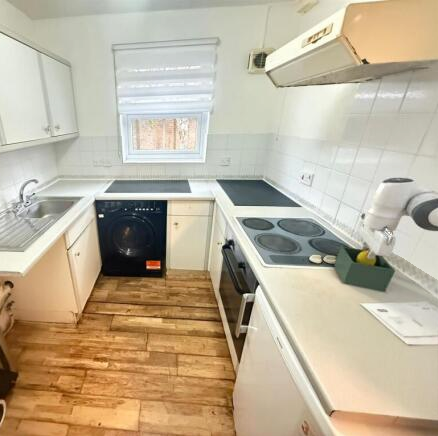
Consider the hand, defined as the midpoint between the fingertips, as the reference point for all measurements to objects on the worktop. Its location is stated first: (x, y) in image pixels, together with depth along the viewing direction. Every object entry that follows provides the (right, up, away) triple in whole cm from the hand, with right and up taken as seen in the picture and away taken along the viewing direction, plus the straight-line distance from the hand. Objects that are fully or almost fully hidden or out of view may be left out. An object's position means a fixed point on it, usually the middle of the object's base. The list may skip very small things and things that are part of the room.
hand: (366, 254), depth 92 cm
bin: (0, -10, +4) cm, 11 cm away
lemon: (0, -6, +2) cm, 7 cm away
